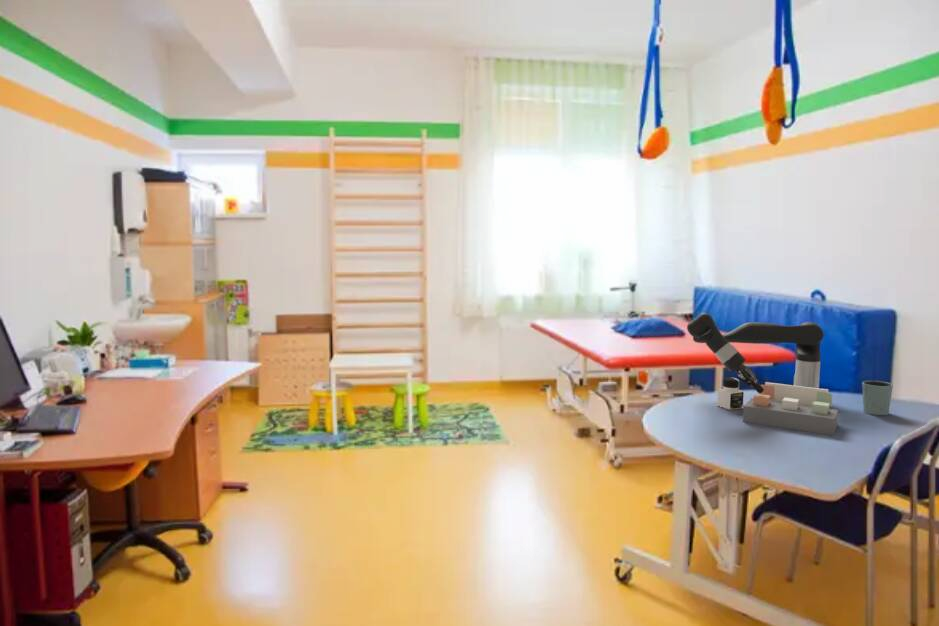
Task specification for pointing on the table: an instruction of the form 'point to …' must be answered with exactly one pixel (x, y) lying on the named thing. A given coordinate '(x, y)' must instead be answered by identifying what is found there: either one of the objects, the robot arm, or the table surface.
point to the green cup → (876, 397)
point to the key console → (793, 418)
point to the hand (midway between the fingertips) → (762, 392)
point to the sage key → (820, 408)
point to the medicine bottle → (730, 395)
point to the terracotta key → (761, 400)
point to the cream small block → (790, 404)
